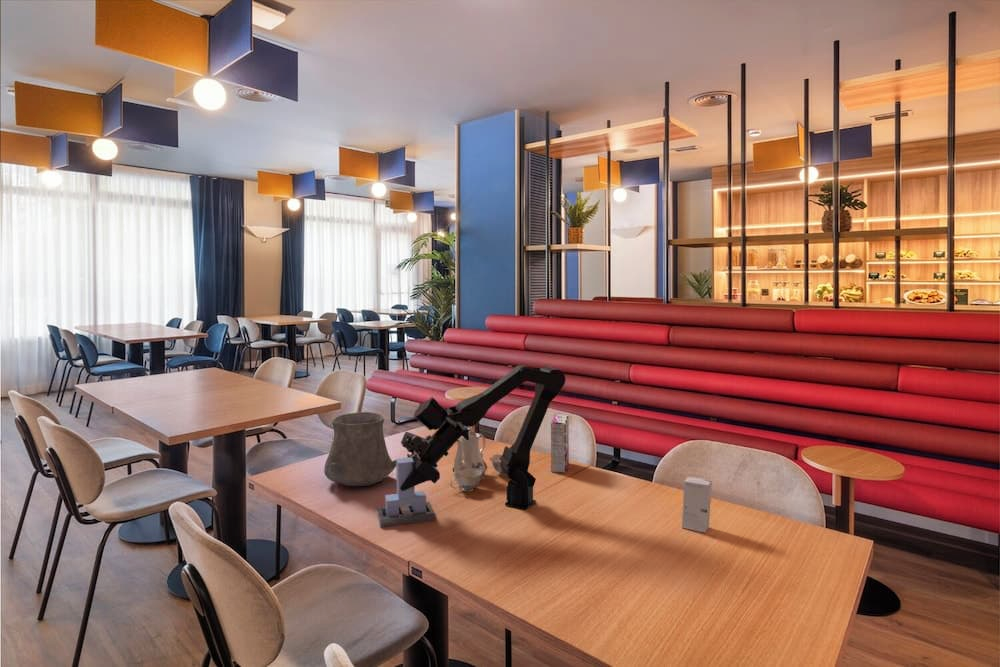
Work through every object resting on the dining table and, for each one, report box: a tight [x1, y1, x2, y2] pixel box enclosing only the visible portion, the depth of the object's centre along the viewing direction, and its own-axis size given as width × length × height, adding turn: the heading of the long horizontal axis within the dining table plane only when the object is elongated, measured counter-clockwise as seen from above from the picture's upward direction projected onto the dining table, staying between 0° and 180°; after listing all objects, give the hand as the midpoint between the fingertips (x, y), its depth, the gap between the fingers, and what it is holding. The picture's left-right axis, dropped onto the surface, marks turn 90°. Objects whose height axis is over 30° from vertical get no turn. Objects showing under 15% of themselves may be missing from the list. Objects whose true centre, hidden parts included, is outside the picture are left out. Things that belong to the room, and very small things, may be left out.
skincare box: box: [681, 475, 713, 533], centre depth 147 cm, size 6×4×12 cm
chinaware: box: [449, 427, 507, 492], centre depth 182 cm, size 28×17×17 cm, turn 149°
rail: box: [376, 501, 436, 528], centre depth 154 cm, size 14×8×2 cm, turn 107°
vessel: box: [323, 411, 396, 487], centre depth 180 cm, size 22×22×20 cm
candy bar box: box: [550, 414, 570, 474], centre depth 193 cm, size 11×5×16 cm, turn 168°
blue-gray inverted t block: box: [384, 456, 427, 517], centre depth 153 cm, size 10×4×14 cm, turn 107°
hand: (400, 486), depth 153 cm, fingers closed on blue-gray inverted t block, 4 cm apart
